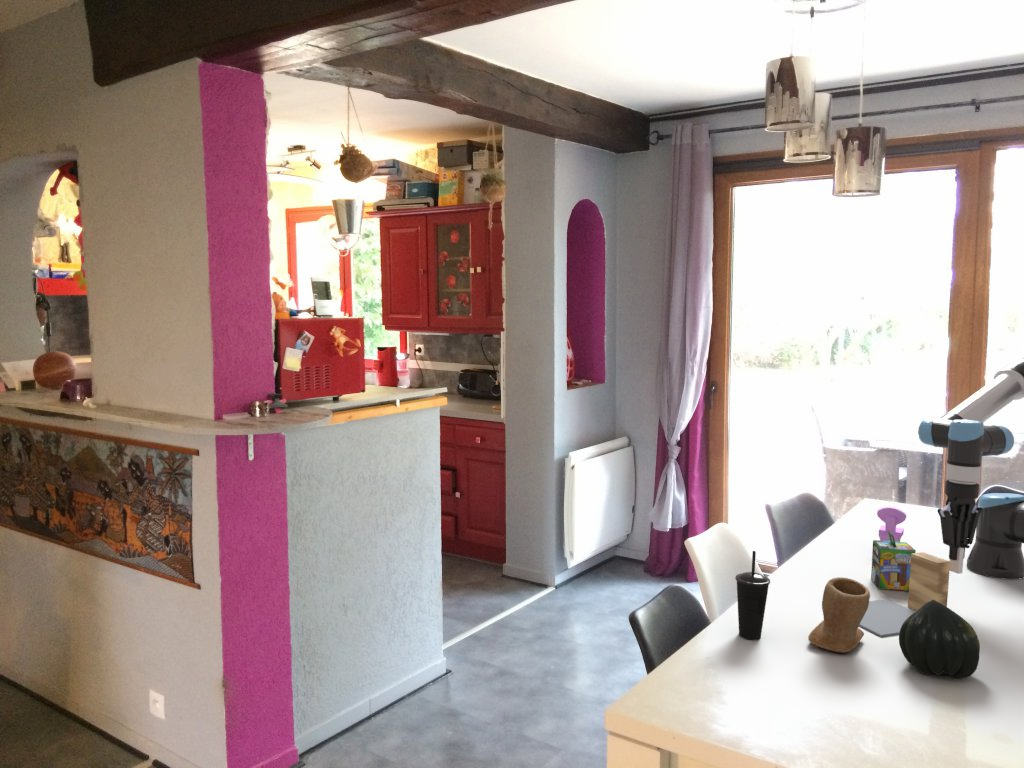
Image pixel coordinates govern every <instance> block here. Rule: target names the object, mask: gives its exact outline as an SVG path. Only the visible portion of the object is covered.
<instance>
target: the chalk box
mask: <svg viewBox="0 0 1024 768" xmlns="http://www.w3.org/2000/svg"><path fill="white" fill-rule="evenodd" d="M888 534H889V538H890V541H880V539H879V540H876V539H873V541H872V553H871V554H872V556H871V575H870V580H872V582H873V584H875V586H876V587H877V589H878V588H879V590H892V591H905V592H906V591H907V592H909V582H910V568H911V554H912V553H917V552H916V549H915V548H913V547H912V546H911V545H910V544H909V543H908V542H905V541H900V542H896V541H895V540H894V536H893V534H892V533H891V532H890V531H888ZM891 537H892V538H891ZM892 539H893V541H892Z"/></svg>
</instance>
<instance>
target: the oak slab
mask: <svg viewBox="0 0 1024 768" xmlns="http://www.w3.org/2000/svg"><path fill="white" fill-rule="evenodd" d="M950 572H951V571H950V560H946V559H944V558H941V557H938V556H935V555H933V554H930V553H927V552H924V551H922V552H916V553H912V554H911V568H910V582H909V591H908V598H907V599H908V600H907V601H908V602H907V608H909V609H911V610H913V611H915V612H916V611H917V610H918V609H920V608H921V607H922V606H923V605H924V604H926V603H927V602H929V601H931V600H935V601H937V602H939V603H941V604H943V605H944V606H946V607H947V608H948V596H949V583H950V582H949V581H950Z"/></svg>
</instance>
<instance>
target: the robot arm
mask: <svg viewBox="0 0 1024 768" xmlns="http://www.w3.org/2000/svg"><path fill="white" fill-rule="evenodd" d="M1023 398H1024V357H1023V358H1021V359H1018V360H1017V361H1014V362H1012V363H1009V364H1008V365H1006V366H1005V367H1003V368H1002V369H1000V370H998V371H997V372H996V373H995V374H994V377H993V379H992V380H991V381H989V382H988V383H987V384H985V385H984V386H982V387H981V388H980V389H979V390H977V391H976V392H974V393H973V394H972V395H970V396H969V397H967V398H966V399H964V400H963V401H962V402H960V403H959V404H958V405H956V406H955V407H954V408H952V409H951V410H949V411H948V412H947V413H945V414H944V415H942V416H940V417H939V418H936V417H927V418H924V419H923V420H922V421H921V422H920V423H919V426H918V431H917V435H918V437H919V440H920V441H921V443H923V444H925V445H927V446H931V447H934V448H943V449H947V459H946V472H945V473H946V474H945V478H946V480H945V482H944V483H945V484H944V494H945V495H946V497H947V499H946V501H945V506H944V507H943V508H940V507H939V508H938V509H937V514H938V516H939V518H940V519H939V520H940V526H941V527H940V528H941V535H942V543H943V544H944V545H946V546H948V547H949V548H948V549H949V550H948V551H949V552H948V559H949V561H950V571H949V572H951V573H952V572H953V573H956V574H958V575H959V574H963V569H964V560H965V557H966V556H965V555H966V549H969V548H970V547H971V546H970V545H972V544H973V542H974V544H973V546H972V548H971V550H970V552H969V555H968V557H967V559H966V568H967V569H968V570H970V571H972V572H974V573H976V574H979V575H982V576H986V575H987V577H990V576H991V578H995V577H996V578H997V579H1002V578H1005V579H1004V580H1020V579H1019V578H1022V579H1024V578H1023V577H1024V553H1023V549H1022V546H1023V544H1024V495H1023V494H1020V493H1009V492H1006V493H1005V492H1004V493H1003V492H991V493H984V494H982V495H981V496H980V497H979V494H980V484H979V482H980V481H981V470H982V469H981V468H982V467H981V466H982V465H981V464H982V457H991V456H992V457H993V456H996V457H997V456H1000V455H1003V454H1006V453H1008V452H1010V451H1011V450H1012V449H1013V447H1014V445H1015V436H1014V434H1013V432H1012V431H1011V430H1010V429H1009V428H1008V427H1005V426H1003V425H995V424H994V425H984V423H985V422H986V421H987V420H989V419H990V418H991V417H992V416H994V415H995V414H997V413H998V412H1000V411H1001V410H1002V409H1003V408H1005V407H1006V406H1007V405H1009V404H1010V403H1012V402H1013V401H1017V400H1021V399H1023ZM977 498H978V503H976V500H975V499H977ZM976 504H978V505H976ZM974 538H975V541H974Z"/></svg>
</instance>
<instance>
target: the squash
mask: <svg viewBox="0 0 1024 768" xmlns="http://www.w3.org/2000/svg"><path fill="white" fill-rule="evenodd" d="M898 644H899V647H900V650H901V653H902V655H903V657H904V659H906V661H907V662H908V663H909V665H912V667H914V668H915V669H916V670H917V671H919V672H920V673H921V674H926V675H930V674H933V673H934V674H935V675H937V676H938V675H942V674H944V673H945V674H946V675H950V676H951V677H953V678H957V679H966V678H969V677H971V676H972V675H973V674H974V673H975V672H976V670H977V669H978V666H979V661H980V650H981V642H980V640H979V637H978V635H977V633H976V631H975V629H974V627H973V626H972V625H971V624H970V623H969V622H968V621H967V620H966V619H965V618H963V617H962V616H960V615H959V614H958V613H956V612H955V611H954V610H952V609H951V608H949V607H948V606H947V607H946V606H944V605H943V604H941V603H939V602H937V601H935V600H931V601H929V602H927V603H926V604H924V605H923V606H922V607H921V608H920V609H918V610H917V611H916V610H915V612H914V613H913V614H912V615H911V616H909V617H908V618H907V619H906V620H905V621H904V623H903V625H902V626H901V629H900V633H899V634H898Z"/></svg>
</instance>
